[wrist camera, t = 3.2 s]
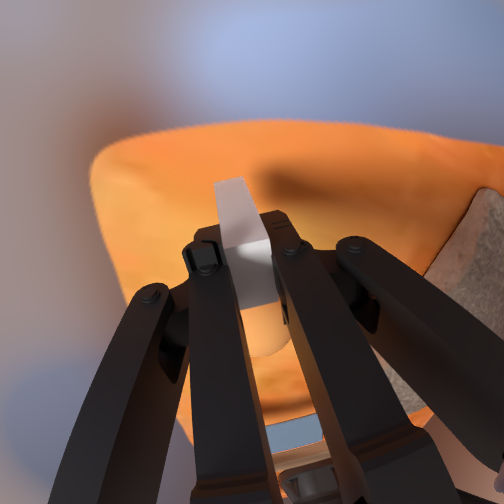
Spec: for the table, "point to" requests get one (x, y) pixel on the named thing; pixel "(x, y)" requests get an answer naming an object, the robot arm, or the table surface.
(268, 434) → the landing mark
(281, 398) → the table surface
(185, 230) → the table surface
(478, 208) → the stone tablet
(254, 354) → the ball
